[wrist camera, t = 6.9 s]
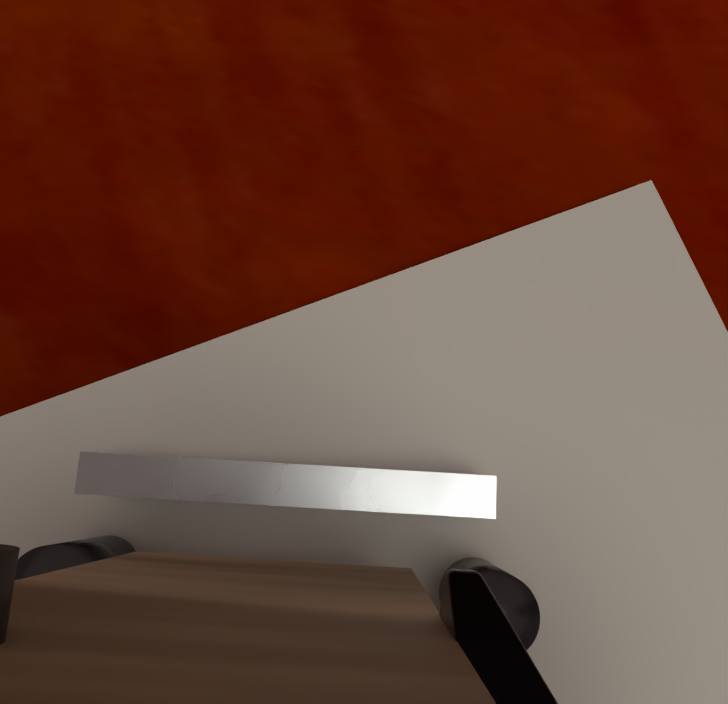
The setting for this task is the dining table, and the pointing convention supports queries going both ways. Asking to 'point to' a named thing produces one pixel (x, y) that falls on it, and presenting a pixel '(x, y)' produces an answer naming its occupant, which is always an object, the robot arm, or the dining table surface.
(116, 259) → the dining table surface
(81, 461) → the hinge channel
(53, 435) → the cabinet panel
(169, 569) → the wooden block
